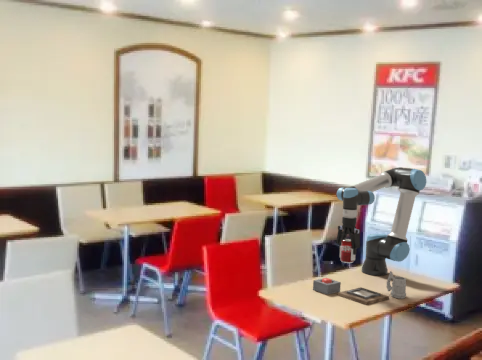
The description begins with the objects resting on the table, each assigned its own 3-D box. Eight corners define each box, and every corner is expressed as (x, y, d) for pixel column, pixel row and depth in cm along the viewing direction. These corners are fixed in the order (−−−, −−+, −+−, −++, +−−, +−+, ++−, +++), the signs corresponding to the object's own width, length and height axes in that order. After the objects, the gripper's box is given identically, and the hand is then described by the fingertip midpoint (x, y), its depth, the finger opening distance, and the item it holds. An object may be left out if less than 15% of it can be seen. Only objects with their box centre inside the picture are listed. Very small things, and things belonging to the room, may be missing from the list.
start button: (326, 286, 311) (326, 277, 311) (333, 289, 308) (333, 279, 307) (319, 288, 308) (320, 279, 308) (326, 290, 304) (327, 281, 304)
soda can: (353, 263, 313) (355, 241, 312) (340, 262, 315) (341, 240, 314) (354, 260, 321) (355, 239, 319) (340, 259, 322) (341, 238, 321)
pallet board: (360, 290, 312) (361, 285, 312) (388, 298, 298) (389, 294, 298) (338, 295, 300) (338, 290, 300) (366, 304, 287) (366, 299, 286)
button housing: (325, 286, 315) (326, 277, 315) (340, 291, 307) (340, 282, 307) (312, 289, 309) (313, 280, 308) (327, 294, 301) (327, 285, 301)
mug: (399, 299, 298) (400, 276, 296) (381, 293, 307) (382, 271, 306) (409, 297, 302) (410, 274, 301) (391, 291, 312) (392, 269, 310)
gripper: (330, 214, 320) (328, 255, 323) (359, 220, 305) (357, 263, 307) (339, 213, 325) (337, 254, 328) (368, 219, 310) (366, 261, 312)
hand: (347, 258), depth 318 cm, fingers closed on soda can, 7 cm apart
